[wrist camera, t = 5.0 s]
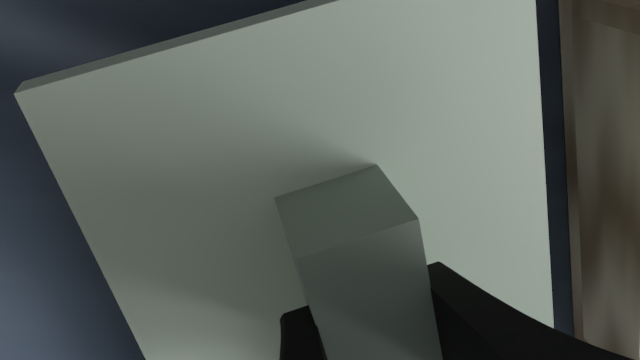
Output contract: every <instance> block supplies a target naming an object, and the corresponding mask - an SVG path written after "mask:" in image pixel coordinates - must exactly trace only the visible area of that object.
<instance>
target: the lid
mask: <svg viewBox="0 0 640 360" xmlns="http://www.w3.org/2000/svg"><path fill="white" fill-rule="evenodd" d="M14 96H15V98H16V100H17V102H18V104H19V106H20V108H21V110H22V112H23V114H24V116H25V118H26V120H27V122H28V124H29V126H30V128H31V130H32V132H33V134H34V136H35V138H36V140H37V142H38V144H39V146H40V148H41V150H42V152H43V154H44V156H45V158H46V160H47V162H48V164H49V166H50V168H51V170H52V172H53V174H54V176H55V178H56V180H57V182H58V184H59V186H60V188H61V190H62V192H63V194H64V196H65V198H66V200H67V202H68V204H69V206H70V208H71V210H72V212H73V214H74V216H75V218H76V220H77V222H78V224H79V226H80V228H81V231H82V233H83V235H84V237H85V239H86V241H87V243H88V245H89V247H90V249H91V251H92V253H93V255H94V257H95V259H96V261H97V263H98V265H99V267H100V269H101V271H102V273H103V275H104V277H105V279H106V281H107V283H108V285H109V287H110V289H111V291H112V293H113V295H114V297H115V299H116V301H117V303H118V305H119V307H120V309H121V311H122V313H123V315H124V317H125V319H126V321H127V323H128V325H129V327H130V329H131V331H132V333H133V335H134V337H135V339H136V341H137V343H138V345H139V347H140V349H141V351H142V353H143V355H144V357H145V359H146V360H279V358H280V344H281V327H280V318H281V316H282V315H283V313H286V312H289V311H292V310H295V309H298V308H301V307H304V306H307V305H309V308H310V310H311V313H312V316H313V319H314V321H315V324H316V326H318V330H319V333H320V336H321V340H322V343H323V346H324V349H325V353H326V356H327V359H328V360H443V358H442V352H441V347H440V341H439V335H438V330H437V324H436V318H435V313H434V307H433V301H432V296H431V290H430V287H431V285H430V279H429V274H428V268H427V265H429V264H432V263H435V262H438V261H439V262H441V263H443V264H445V265H446V266H448V267H449V268H451V269H452V270H454V271H455V272H457V273H458V274H460V275H461V276H463V277H464V278H466V279H467V280H469V281H470V282H472V283H473V284H475V285H477V286H478V287H480V288H481V289H483V290H484V291H486V292H488V293H489V294H491V295H493V296H494V297H496V298H498V299H499V300H501V301H503V302H505V303H506V304H508V305H510V306H512V307H513V308H515V309H517V310H519V311H520V312H522V313H524V314H526V315H528V316H530V317H532V318H534V319H536V320H538V321H540V322H541V323H543V324H545V325H547V326H549V327H552V328H554V319H553V301H552V283H551V265H550V248H549V230H548V212H547V195H546V177H545V159H544V141H543V124H542V106H541V88H540V70H539V53H538V35H537V17H536V0H306V1H303V2H299V3H296V4H292V5H289V6H285V7H282V8H278V9H275V10H271V11H268V12H264V13H261V14H257V15H254V16H250V17H247V18H243V19H240V20H236V21H233V22H229V23H226V24H222V25H219V26H215V27H212V28H208V29H205V30H201V31H198V32H194V33H191V34H187V35H184V36H180V37H177V38H173V39H170V40H166V41H163V42H159V43H156V44H152V45H149V46H145V47H142V48H138V49H135V50H131V51H128V52H124V53H121V54H117V55H114V56H110V57H107V58H103V59H100V60H96V61H93V62H89V63H86V64H82V65H79V66H75V67H72V68H68V69H65V70H61V71H58V72H54V73H51V74H47V75H44V76H40V77H37V78H33V79H30V80H26V81H23V82H22V83H21V84H20V85H19V87H18V88H17V90H16V91H15V92H14Z"/></svg>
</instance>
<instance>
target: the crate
mask: <svg viewBox="0 0 640 360" xmlns="http://www.w3.org/2000/svg"><path fill="white" fill-rule="evenodd" d="M558 1H559V22H560V44H561V65H562V86H563V107H564V128H565V149H566V171H567V192H568V213H569V234H570V255H571V276H572V297H573V319H574V338H577V339H579V340H582V341H584V342H586V343H589V344H591V345H594V346H597V347H599V348H602V349H605V350H607V351H610V352H613V353H616V354H619V355H622V356H625V357H628V358H632V359H635V360H640V0H558Z"/></svg>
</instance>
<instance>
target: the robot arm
mask: <svg viewBox="0 0 640 360" xmlns="http://www.w3.org/2000/svg"><path fill="white" fill-rule="evenodd" d="M427 268H428V274H429V279H430V285H431V287H430V290H431V296H432V301H433V307H434V313H435V318H436V324H437V330H438V335H439V341H440V347H441V352H442V358H443V360H635V359H632V358H628V357H625V356H622V355H619V354H616V353H613V352H610V351H607V350H605V349H602V348H599V347H597V346H594V345H591V344H589V343H586V342H584V341H582V340H579V339H577V338H574V337H572V336H569V335H567V334H565V333H562V332H560V331H558V330H556V329H554V328H552V327H549V326H547V325H545V324H543V323H541V322H540V321H538V320H536V319H534V318H532V317H530V316H528V315H526V314H524V313H522V312H520V311H519V310H517V309H515V308H513V307H512V306H510V305H508V304H506V303H505V302H503V301H501V300H499V299H498V298H496V297H494V296H493V295H491V294H489V293H488V292H486V291H484V290H483V289H481V288H480V287H478V286H477V285H475V284H473V283H472V282H470V281H469V280H467V279H466V278H464V277H463V276H461V275H460V274H458V273H457V272H455V271H454V270H452V269H451V268H449V267H448V266H446V265H445V264H443V263H441V262H439V261H438V262H435V263H432V264H429V265H427ZM280 327H281V344H280V358H279V360H328V359H327V356H326V353H325V349H324V346H323V343H322V340H321V336H320V333H319V330H318V326H316V324H315V321H314V319H313V316H312V313H311V310H310V308H309V305H307V306H304V307H301V308H298V309H295V310H292V311H289V312H286V313H283V315H282V316H281V318H280Z"/></svg>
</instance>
